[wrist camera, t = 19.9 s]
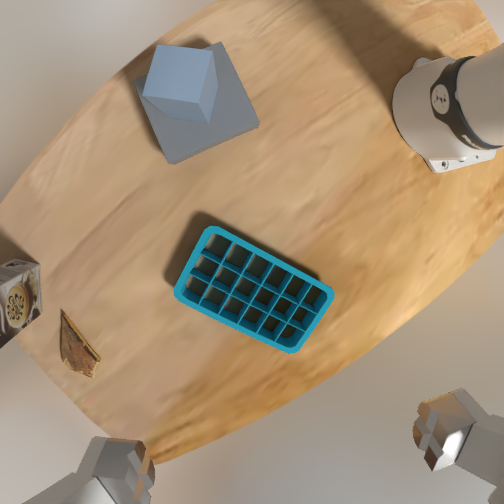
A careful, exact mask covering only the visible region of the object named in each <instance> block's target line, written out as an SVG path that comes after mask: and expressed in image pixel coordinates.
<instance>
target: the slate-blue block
mask: <svg viewBox="0 0 504 504" xmlns="http://www.w3.org/2000/svg"><path fill="white" fill-rule="evenodd" d="M217 89H218V81H217V75H216V69H215V63H214V57H213V51H209V50H203V49H195V48H188V47H179V46H169V45H158V44H157V47H156V50H155V53H154V56H153V59H152V63H151V66H150V69H149V73H148V76H147V80H146V83H145V87H144V90H143V94H142V96H143V97H145V98H146V99H147V100H148V101H150V102H151V103H152V104H153V105H154V106H156V107H157V108H158V109H159V110H160V111H162V112H163V113H164V114H165V115H167V116H168V117H170V118H177V119H183V120H189V121H195V122H201V123H206V124H209V121H210V117H211V112H212V108H213V104H214V101H215V97H216V93H217Z"/></svg>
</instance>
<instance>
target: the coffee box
mask: <svg viewBox="0 0 504 504" xmlns="http://www.w3.org/2000/svg"><path fill="white" fill-rule="evenodd" d="M42 312H43V311H42V300H41V285H40V265H39V264H37V263H32V262H28V261H24V260H20V259H13V260H11V261H9V262H6V263H4V264H2V265H0V348H2V347H3V346H4V345H5V344H6V343H7V342H8V341H10V340H11V339H12V338H13V337H14V336H15V335H17V334H18V333H19V332H20V331H21V330H22V329H24V328H25V327H26V326H27V325H28V324H30V323H31V322H32V321H33V320H34V319H36V318H37V317H38V316H39V315H41V314H42Z"/></svg>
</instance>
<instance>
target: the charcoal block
mask: <svg viewBox="0 0 504 504" xmlns="http://www.w3.org/2000/svg"><path fill="white" fill-rule="evenodd" d="M203 50H209V51H213V57H214V63H215V69H216V75H217V81H218V89H217V93H216V97H215V101H214V104H213V108H212V112H211V117H210V121H209V124H206V123H201V122H195V121H189V120H183V119H177V118H170V117H168V116H167V115H165V114H164V113H163V112H162V111H160V110H159V109H158V108H157V107H156V106H154V105H153V104H152V103H151V102H150V101H148V100H147V99H146V98H145V97H143V96H142V94H143V90H144V87H145V83H146V80H147V76H148V74H147V75H145V76H143V77H141V78H139V79H137V80H135V81H134V85H135V87H136V90H137V92H138V95H139V97H140V99H141V102H142V104H143V106H144V109H145V111H146V114H147V116H148V118H149V121H150V123H151V125H152V128H153V130H154V132H155V135H156V137H157V139H158V142H159V144H160V146H161V148H162V151H163V153H164V155H165V158H166V160H167V162H168V164H177V163H179V162H181V161H184V160H186V159H188V158H190V157H192V156H194V155H196V154H198V153H201V152H203V151H205V150H207V149H209V148H212V147H214V146H216V145H218V144H221V143H223V142H225V141H227V140H230V139H232V138H234V137H237V136H239V135H241V134H244V133H246V132H249V131H251V130H254V129H256V128H258V126H259V124H260V122H259V119H258V117H257V115H256V113H255V111H254V108H253V106H252V104H251V102H250V100H249V98H248V96H247V93H246V91H245V89H244V87H243V85H242V83H241V81H240V79H239V77H238V75H237V73H236V71H235V68H234V66H233V64H232V62H231V60H230V58H229V56H228V54H227V52H226V50H225V48H224V46H223V44H222V42H219V43H216V44H213V45H211V46H208V47H206V48H203Z"/></svg>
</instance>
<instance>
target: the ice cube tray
mask: <svg viewBox="0 0 504 504" xmlns="http://www.w3.org/2000/svg"><path fill="white" fill-rule="evenodd" d="M212 234H218V235H221V236H223V237H225V238H227V239H229V240H231V243H230V245H229V246H228V248H227V250H226V252H225V254H224V255H223V257H222V259H221V258H219V257H217V256H215V255H214V254H212V253H210V252H208V251H206V250H204V248H205V246H206V244H207V242H208V240H209V238H210V237H211V235H212ZM234 243H236V244H238V245H240V246H242V247H244V248H245V249H247V250H249V251H251V252H250V254H249V255H248V257H247V259H246V261H245V262H244V264H243V266H242V267H241V269H240V268H238V267H236V266H234V265H232V264H230V263H229V262H227V261H225V258H226V256H227V254H228V253H229V251H230V249H231V247H232V246H233V244H234ZM254 254H257V255H258V256H260V257H262V258H264V259H266V260H268V261H270V262H269V264H268V265H267V267H266V269H265V270H264V272H263V274H262V275H261V277H260V279H259V278H257V277H255V276H253V275H251V274H249V273H248V272H246V271H245V269H246V268H247V266H248V264H249V263H250V261H251V259H252V257H253V256H254ZM200 255H203V256H205V257H207V258H209V259H210V260H212V261H214V262H216V263H218V266H217V268H216V270H215V272H214V273H213V275H212V277H209V276H207V275H205V274H203V273H202V272H200V271H198V270H196V269H194V266H195V265H196V263H197V261H198V259H199V257H200ZM221 265H222V266H224V267H226V268H227V269H229V270H231V271H233V272H235V273H237V276H236V278H235V280H234V281H233V283H232V285H231V287H228V286H226V285H225V284H223V283H221V282H219V281H217V280H215V279H214V278H215V276H216V274H217V272H218V271H219V269H220V267H221ZM274 265H277V266H279V267H281V268H283V269H284V270H286V271H288V272H287V274H286V276H285V277H284V279H283V281H282V282H281V284H280V285H279V287H278V288H276V287H274V286H272V285H270V284H269V283H267V282H265V280H266V278H267V276H268V275H269V273H270V271H271V270H272V268H273V266H274ZM190 275H192V276H194V277H196V278H198V279H200V280H202V281H204V282H206V283H207V286H206V288H205V290H204V292H203V293H202V295H201V297H200V296H198V295H196V294H194V293H192V292H190V291H189V290H188V289H187V288H186V282H187V280H188V278H189V276H190ZM294 275H296V276H297V277H299V278H301V279H303V280H305V283H304V285H303V286H302V288H301V289H300V291H299V292H298V294H297V296H296V297H294V296H292V295H290V294H288V293H286V292H284V290H285V289H286V287H287V285H288V284H289V282H290V281H291V279H292V277H293V276H294ZM241 276H243V277H245V278H247V279H248V280H250V281H252V282H254V283H256V285H255V287H254V289H253V290H252V292H251V294H250V295H249V297H248V296H246V295H244V294H242V293H240V292H238V291H236V290H234V288H235V287H236V285H237V283H238V281H239V280H240V278H241ZM210 285H211V286H213V287H215V288H217V289H219V290H221V291H223V292H225V293H227V294H226V295H225V297H224V299H223V300H222V302H221V304H220V306H218V305H216V304H214V303H212V302H210V301H208V300H206V299H204V296H205V294H206V292H207V290H208V289H209V287H210ZM312 285H314V286H316V287H318V288H320V289H321V293H320V294H319V296H318V298H317V299H316V301H315V302H314V304H313V305H312V306H311V305H309V304H307V303H305V302H303V299H304V298H305V296H306V294H307V293H308V291H309V290H310V288H311V287H312ZM261 286H262V287H264V288H266V289H268V290H270V291H272V292H274V293H275V294H274V295H273V297H272V298H271V300H270V302H269V303H268V305H267V306H266V305H264V304H262V303H260V302H258V301H256V300H254V298H255V296H256V295H257V293H258V291H259V290H260V288H261ZM173 290H174V296H175V297H176V298H177V299H178V301H180V302H182V303H184V304H186V305H188V306H190V307H192V308H194V309H196V310H198V311H200V312H202V313H203V314H205V315H207V316H209V317H211V318H214V319H216V320H218V321H220V322H222V323H224V324H226V325H228V326H230V327H232V328H234V329H236V330H238V331H240V332H242V333H245V334H247V335H249V336H251V337H253V338H255V339H257V340H260V341H262V342H264V343H266V344H268V345H270V346H273V347H275V348H277V349H279V350H282V351H284V352H286V353H288V354H290V353H295V352H297V351H299V350H300V348H301V347H302V346H303V344H304V343H305V341H306V340H307V338H308V337H309V336H310V334H311V333H312V331H313V330H314V328H315V327H316V325H317V324H318V322H319V321H320V320H321V318H322V317H323V315H324V314H325V312H326V311H327V309H328V308H329V306H330V304H331V303H332V301H333V300H334V294H335V293H334V291H333V289H332V288H331V287H329V286H327V285H325V284H324V283H322V282H320V281H318V280H316V279H315V278H313V277H311V276H309V275H307V274H305V273H304V272H302V271H300V270H298V269H296V268H294V267H293V266H291V265H289V264H287V263H285V262H283V261H282V260H280V259H278V258H276V257H274V256H272V255H271V254H269V253H267V252H265V251H263V250H261V249H260V248H258V247H256V246H254V245H252V244H250V243H248V242H247V241H245V240H243V239H241V238H239V237H237V236H236V235H234V234H232V233H230V232H228V231H226V230H225V229H223V228H221V227H219V226H209V227H207V228H206V229H205V230H204V232H203V233H202V235H201V237H200V239H199V241H198V243H197V245H196V247H195V249H194V250H193V252H192V254H191V256H190V258H189V260H188V262H187V264H186V266H185V268H184V270H183V272H182V274H181V276H180V277H179V279H178V281H177V283H176V285H175V287H174V289H173ZM230 295H231V296H233V297H235V298H237V299H239V300H241V301H243V302H245V304H244V305H243V307H242V309H241V310H240V312H239V314H238V315H236V314H234V313H232V312H230V311H228V310H226V309H224V308H223V307H224V306H225V304H226V302H227V300H228V299H229V297H230ZM280 297H283V298H285V299H287V300H289V301H291V302H292V303H291V305H290V307H289V308H288V310H287V311H286V313H285V314H282V313H280V312H278V311H276V310H274V309H273V308H274V306H275V305H276V303H277V301H278V300H279V298H280ZM250 305H251V306H253V307H255V308H257V309H259V310H261V311H263V313H262V314H261V316H260V317H259V319H258V321H257V322H256V324H254V323H252V322H250V321H248V320H246V319H244V318H243V316H244V314H245V313H246V311H247V309H248V308H249V306H250ZM299 306H301V307H303V308H305V309H307V310H309V311H308V313H307V314H306V316H305V317H304V319H303V320H302V322H301V323H300V322H298V321H296V320H294V319H292V316H293V314H294V313H295V311H296V310H297V308H298V307H299ZM269 315H271V316H273V317H275V318H277V319H279V320H280V322H279V324H278V325H277V327H276V328H275V330H274V331H273V332H271V331H269V330H267V329H265V328H263V327H262V325H263V323H264V322H265V320H266V319H267V317H268V316H269ZM287 324H289V325H291V326H294V327H296V328H297V329H296V331H295V332H294V334H293V335H292V336H291V337H289V338H285V337H282V336H280V334H281V333H282V331H283V330H284V328H285V327H286V325H287Z"/></svg>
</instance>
